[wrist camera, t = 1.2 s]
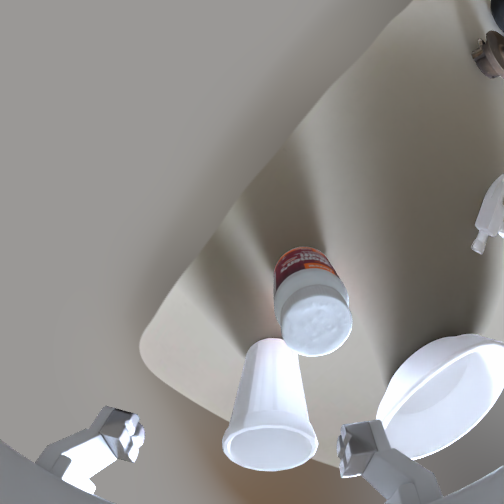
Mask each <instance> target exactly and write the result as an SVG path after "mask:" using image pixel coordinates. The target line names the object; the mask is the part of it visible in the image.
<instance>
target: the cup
mask: <svg viewBox="0 0 504 504" xmlns="http://www.w3.org/2000/svg"><path fill="white" fill-rule="evenodd" d="M222 446H223V451H224V453H225V454H226V455H227V456H228V458H229V459H230V460H231V461H233V462H235V463H237V464H239V465H240V466H242V467H246V468H250V469H254V470H258V471H279V470H286V469H291V468H294V467H296V466H299V465H301V464H303V463H305V462H306V461H307V460H309V459H310V458H311V457H312V456H313V455H314V454H315V451H316V449H317V446H318V441H317V438H316V435H315V433H314V430H313V427H312V425H311V424H310V423H309V417H308V412H307V406H306V400H305V395H304V389H303V384H302V379H301V373H300V368H299V363H298V355H297V353H296V352H295V351H293V350H292V349H290V348H289V347H288V346H287V344H286V343H285V341H284V340H282V339H278V338H267V339H263V340H260V341H258V342H256V343H255V344H253V345H252V346H251V347H250V349H249V350H248V352H247V354H246V358H245V363H244V367H243V371H242V375H241V379H240V383H239V387H238V391H237V396H236V400H235V404H234V408H233V412H232V416H231V420H230V424H229V427H228V428H227V430H226V431H225V434H224V437H223V439H222Z"/></svg>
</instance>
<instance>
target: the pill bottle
mask: <svg viewBox="0 0 504 504" xmlns="http://www.w3.org/2000/svg"><path fill="white" fill-rule="evenodd" d="M273 292H274V312H275V316H276V319H277V321H278V323H279V324H280V326H281V334H282V337H283V339H284V341H285V343H286V344H287V346H288V347H289V348H290V349H292V350H293V351H295V352H296V353H298V354H301V355H305V356H321V355H325V354H328V353H330V352H332V351H334V350H336V349H337V348H339V347H340V346H341V345H342V344H343V343H344V342H345V340H346V339H347V338H348V336H349V334H350V331H351V328H352V314H351V311H350V309H349V307H348V306H349V298H348V293H347V290H346V288H345V286H344V284H343V282H342V281H341V279H340V278H339V276H338V275H337V273H336V272H335V270H334V268H333V267H332V265H331V263H330V262H329V260H328V259H327V257H326V256H325V255H324V254H323V253H322V252H320V251H319V250H317V249H315V248H312V247H305V246H304V247H296V248H293V249H291V250H289V251H287V252H286V253H285V254H283V255H282V256H281V258H280V259H279V260H278V262H277V264H276V267H275V271H274V291H273Z"/></svg>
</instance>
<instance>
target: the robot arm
mask: <svg viewBox="0 0 504 504" xmlns="http://www.w3.org/2000/svg"><path fill="white" fill-rule="evenodd" d="M139 420H140V418H139V416H138V415H137V414H135V413H131V412H127V411H123V410H119V409H116V408H112V407H109V406H105V407H103V408H102V410H101V411H100V413H99V414H98V416H97V417H96V419H95V420H94V422H93V423H92V425H91V426H90V428H89V429H84V430H82V431H79V432H77V433H75V434H73V435H71V436H68V437H66V438H64V439H62V440H59V441H57V442H55V443H52V444H50V445H48V446H47V447H46V448H45V450H44V451H43V452H42V454H41V455H40V456H39V458H38V459H37V461H36V462H35V463H34V462H32V461H30V460H29V459H27V458H26V457H24V456H23V455H21V454H20V453H19V452H17V451H16V450H14V449H13V448H11V447H10V446H9V445H7V444H6V443H5V442H4V441H2V440H1V439H0V504H116V503H113V502H111V501H108V500H106V499H103V498H101V497H98V496H96V495H94V494H93V492H94V490H95V486H94V484H93V483H92V482H91V481H90V480H89V479H88V478H89V477H91V476H93V475H94V474H96V473H97V472H99V471H100V470H102V469H103V468H104V467H106V466H108V465H109V464H111V463H112V462H114V461H115V460H116V458H118V459H121V460H124V461H128V462H132V463H134V461H135V459H136V457H137V455H138V453H139V451H138V449H137V448H138V447H139V446H141V445H142V444H143V441H144V438H145V431H144V427H143V426H142V425H141V424H140V423H139ZM337 454H338V457H339V458H340V459H341V462H340V465H339V466H340V471H341V477H342V478H344V477H351V476H359V475H362V476H363V477H364V478H365V479H366V480H367V481H368V482H369V483H370V484H371V485H372V486H373V487H374V488H375V489H376V490H377V491H379V493H380V494H381V495H382V496H384V497H385V498H386V499H387V501H386V503H385V504H504V465H503V466H502V467H500V468H498V469H497V470H495V471H493V472H492V473H490V474H488V475H487V476H485V477H483V478H481V479H479V480H478V481H476V482H474V483H472V484H470V485H468V486H466V487H464V488H462V489H460V490H458V491H456V492H453V493H451V494H449V495H447V496H445V497H443V496H442V493H441V490H440V488H439V485H438V483H437V480H436V478H435V475H434V473H432V472H431V471H429V470H427V469H426V468H424V467H423V466H421V465H420V464H418V463H416V462H415V461H413V460H412V459H410V458H409V457H407V456H406V455H404V454H403V453H401V452H400V451H398V450H397V449H395V448H392V449H391V446H390V444H389V441H388V438H387V435H386V432H385V430H384V427H383V424H382V422H381V420H380V419H377V420H372V421H364V422H357V423H350V424H343V425H342V427H341V435H340V436H339V437H338V440H337Z"/></svg>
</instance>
